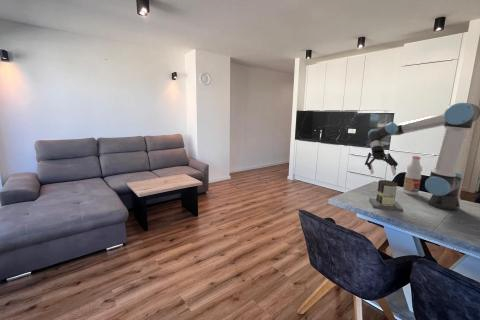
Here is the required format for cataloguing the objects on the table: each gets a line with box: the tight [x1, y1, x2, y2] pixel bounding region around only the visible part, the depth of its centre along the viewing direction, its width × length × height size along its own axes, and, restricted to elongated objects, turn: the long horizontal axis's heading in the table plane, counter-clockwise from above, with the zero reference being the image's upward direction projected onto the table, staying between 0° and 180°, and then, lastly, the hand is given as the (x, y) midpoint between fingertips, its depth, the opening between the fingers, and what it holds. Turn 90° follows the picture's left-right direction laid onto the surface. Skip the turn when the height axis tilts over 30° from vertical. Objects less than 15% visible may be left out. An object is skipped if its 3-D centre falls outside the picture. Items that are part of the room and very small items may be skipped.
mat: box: [369, 197, 404, 212], centre depth 150 cm, size 16×14×2 cm
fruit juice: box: [402, 155, 423, 196], centre depth 173 cm, size 9×9×28 cm
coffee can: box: [375, 179, 399, 206], centre depth 148 cm, size 10×10×14 cm
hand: (383, 174), depth 154 cm, fingers open, 13 cm apart
